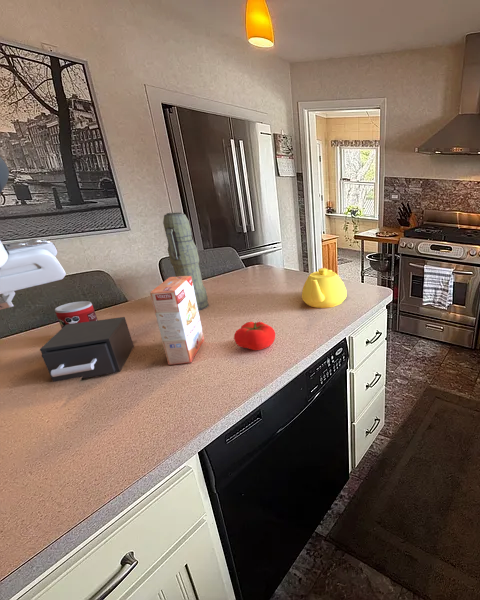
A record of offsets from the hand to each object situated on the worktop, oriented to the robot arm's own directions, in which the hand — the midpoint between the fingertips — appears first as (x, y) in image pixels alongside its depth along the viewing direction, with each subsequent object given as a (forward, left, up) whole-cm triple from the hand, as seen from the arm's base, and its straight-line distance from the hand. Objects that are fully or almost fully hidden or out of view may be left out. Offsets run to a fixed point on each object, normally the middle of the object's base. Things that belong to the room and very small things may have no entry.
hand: (1, 307), depth 61 cm
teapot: (+69, +39, -24) cm, 83 cm away
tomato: (+42, +12, -24) cm, 50 cm away
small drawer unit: (+3, +19, -24) cm, 31 cm away
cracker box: (+24, +16, -24) cm, 38 cm away
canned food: (-5, +38, -24) cm, 45 cm away
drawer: (+3, +15, -23) cm, 28 cm away
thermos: (+23, +54, -24) cm, 64 cm away
